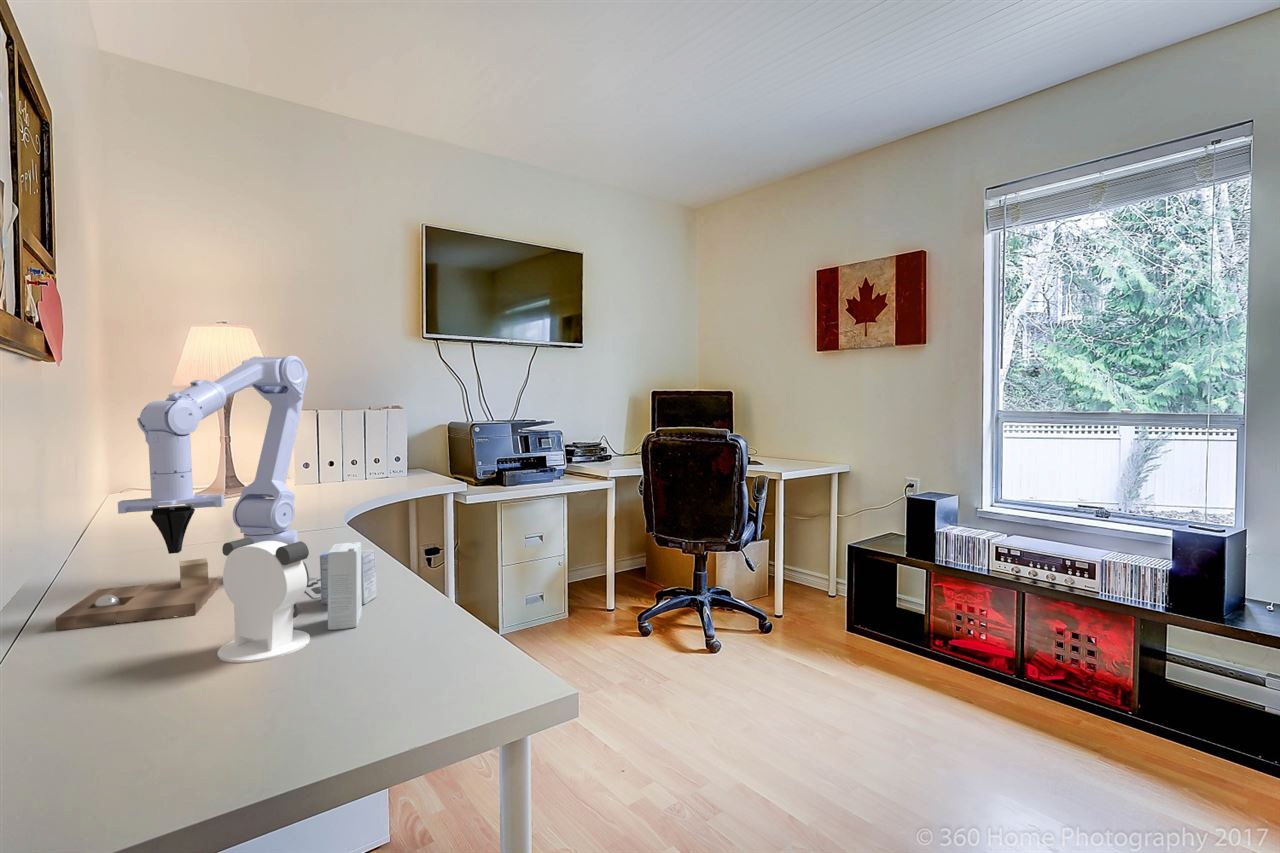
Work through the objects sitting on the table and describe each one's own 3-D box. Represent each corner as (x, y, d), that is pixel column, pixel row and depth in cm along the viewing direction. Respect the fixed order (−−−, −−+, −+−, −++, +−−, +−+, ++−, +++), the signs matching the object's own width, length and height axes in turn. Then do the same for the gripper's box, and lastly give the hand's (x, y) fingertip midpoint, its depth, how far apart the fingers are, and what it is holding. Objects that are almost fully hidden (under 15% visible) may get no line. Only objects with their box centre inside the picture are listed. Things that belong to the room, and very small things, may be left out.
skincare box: (333, 618, 103) (331, 543, 103) (363, 615, 105) (361, 541, 104) (326, 631, 97) (324, 552, 97) (359, 628, 99) (356, 549, 98)
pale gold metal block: (207, 579, 119) (206, 558, 119) (208, 584, 116) (207, 562, 116) (180, 583, 117) (179, 561, 116) (181, 588, 113) (180, 566, 113)
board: (218, 588, 120) (217, 577, 120) (195, 614, 105) (195, 602, 105) (98, 600, 113) (97, 589, 113) (56, 630, 99) (55, 617, 99)
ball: (111, 617, 107) (128, 602, 108) (100, 620, 104) (118, 605, 105) (96, 603, 107) (113, 589, 108) (85, 607, 104) (103, 592, 105)
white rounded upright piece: (331, 636, 96) (328, 535, 95) (268, 667, 85) (264, 553, 84) (266, 628, 99) (262, 531, 98) (197, 657, 88) (192, 548, 87)
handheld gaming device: (341, 570, 130) (365, 587, 119) (342, 574, 130) (365, 591, 119) (293, 579, 125) (313, 597, 113) (293, 582, 125) (313, 601, 113)
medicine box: (377, 597, 114) (376, 549, 114) (364, 605, 110) (362, 555, 109) (335, 596, 115) (333, 548, 114) (320, 604, 110) (318, 554, 110)
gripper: (108, 477, 102) (113, 562, 103) (216, 472, 107) (219, 553, 108) (125, 472, 108) (129, 552, 109) (225, 467, 114) (229, 544, 115)
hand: (175, 552), depth 109 cm, fingers closed
